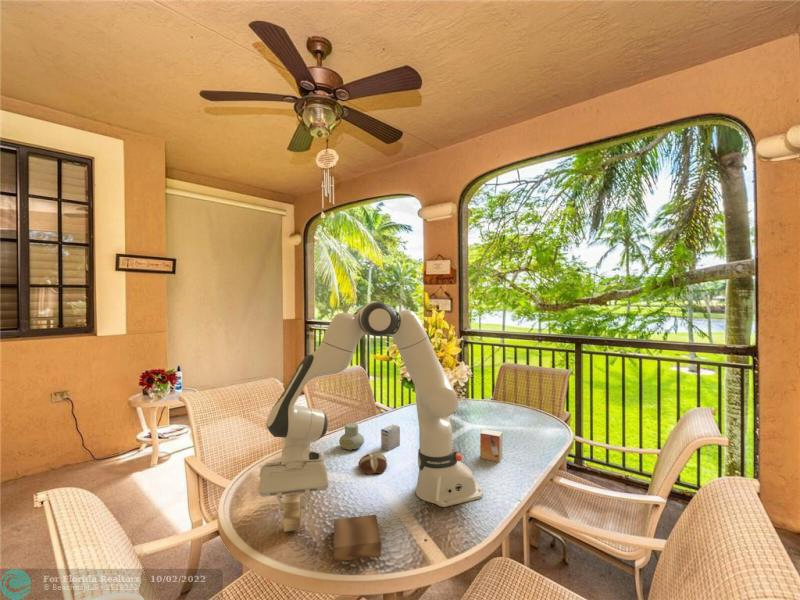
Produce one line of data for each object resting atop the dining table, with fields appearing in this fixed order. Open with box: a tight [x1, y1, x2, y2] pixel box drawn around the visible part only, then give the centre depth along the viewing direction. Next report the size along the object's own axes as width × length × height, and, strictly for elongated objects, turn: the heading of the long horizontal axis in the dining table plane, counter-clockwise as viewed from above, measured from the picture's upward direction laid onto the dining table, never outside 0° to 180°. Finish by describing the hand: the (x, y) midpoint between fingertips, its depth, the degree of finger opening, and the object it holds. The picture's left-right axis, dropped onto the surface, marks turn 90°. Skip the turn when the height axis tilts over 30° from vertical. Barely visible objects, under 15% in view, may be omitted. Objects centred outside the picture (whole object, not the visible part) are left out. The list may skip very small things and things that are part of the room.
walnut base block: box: [333, 514, 382, 563], centre depth 100 cm, size 12×12×4 cm
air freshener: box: [338, 422, 365, 451], centre depth 163 cm, size 11×8×10 cm
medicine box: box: [380, 424, 401, 451], centre depth 163 cm, size 8×4×9 cm, turn 141°
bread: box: [358, 452, 388, 475], centre depth 143 cm, size 11×11×5 cm
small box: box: [479, 428, 504, 463], centre depth 151 cm, size 8×6×10 cm
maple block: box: [282, 493, 303, 532], centre depth 106 cm, size 4×4×8 cm
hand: (292, 509), depth 106 cm, fingers closed on maple block, 4 cm apart
